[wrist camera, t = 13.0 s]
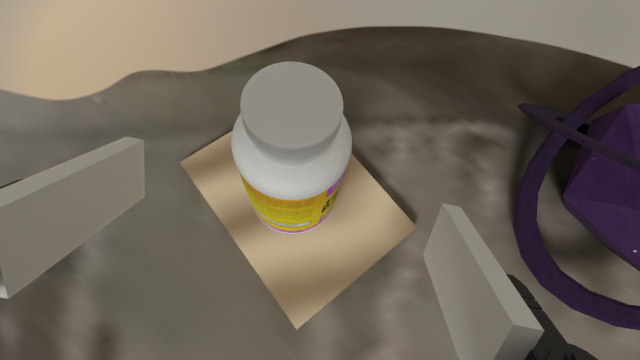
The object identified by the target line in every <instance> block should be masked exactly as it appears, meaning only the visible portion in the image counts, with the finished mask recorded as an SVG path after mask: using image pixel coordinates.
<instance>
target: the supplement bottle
mask: <svg viewBox="0 0 640 360" xmlns="http://www.w3.org/2000/svg"><path fill="white" fill-rule="evenodd" d="M240 109H241V113H240V115H239V116H238V118H237V120H236V122H235V125H234V128H233V132H232V139H231V147H232V154H233V157H234V161H235V163H236V166H237V169H238V171H239V173H240V176H241V178H242V181H243V184H244V186H245V189H246V191H247V194H248V196H249V199H250V202H251V204H252V207H253V209H254V211H255V213H256V215H257V216H258V217H259V219H260V220H261V221H262V222H263V223H264V224H265V225H267V226H268V227H270V228H271V229H273V230H275V231H278V232H281V233H286V234H299V233H304V232H307V231H310V230H312V229H314V228H316V227H317V226H319V225H320V224H321V223H322V222H323V221H324V220H325V219H326V218H327V216H328V215H329V213H330V211H331V209H332V207H333V205H334V202H335V199H336V196H337V194H338V191H339V188H340V185H341V182H342V179H343V176H344V173H345V170H346V168H347V165H348V162H349V159H350V156H351V150H352V136H351V131H350V128H349V125H348V122H347V120H346V118H345V117H344V115H343V99H342V95H341V92H340V90H339V88H338V86H337V84H336V83H335V82H334V80H333V79H332V78H331V77H330V76H329V75H327V74H326V73H325V72H323V71H322V70H320V69H319V68H317V67H315V66H312V65H309V64H305V63H301V62H281V63H276V64H272V65H270V66H267V67H265V68H263V69H261V70H260V71H258V72H257V73H256V74H255V75H253V76H252V77H251V79H250V80H249V81H248V82H247V84H246V86H245V88H244V90H243V92H242V95H241V101H240Z"/></svg>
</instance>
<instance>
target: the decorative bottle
mask: <svg viewBox="0 0 640 360" xmlns="http://www.w3.org/2000/svg"><path fill="white" fill-rule="evenodd" d="M639 83H640V66H638V67H636V68H634V69H632V70H630V71H628V72H626V73H624V74H622V75H620V76H619V77H618V78H616V79H615V80H613V81H612V82H610V83H609V84H607V85H606V86H604V87H603V88H601V89H600V90H598V91H597V92H595V93H594V94H592V95H591V96H589V97H588V98H587V99H585V100H584V101H582V102H581V103H580V104H579V105H578V106H577V107H576V108H575V109H574V110H573V111H572V112H571V113H570V114H566V113H563V112H560V111H556V110H553V109H549V108H545V107H541V106H537V105H532V104H525V103H523V104H519V105H518V108H519V109H520V110H521V111H522V112H523V113H525V114H526V115H527V116H528V117H530V118H532V119H533V120H535V121H537V122H538V123H540V124H542V125H544V126H545V127H547V128H549V129H550V130H552V131H551V132H550V134H549V135H548V136H547V138H546V139H545V141H544V142H543V143H542V145H541V146H540V148H539V149H538V150H537V152H536V153H535V155H534V156H533V157H532V159H531V160H530V162H529V164H528V166H527V169H526V171H525V174H524V176H523V179H522V181H521V184H520V186H519V189H518V191H517V194H516V203H515V214H514V225H513V227H514V231H515V235H516V239H517V242H518V246H519V250H520V254H521V257H522V259H523V260H524V262H525V263H526V265H527V266H528V268H529V269H530V270H531V272H532V273H533V275H534V276H535V278H536V279H537V281H538V282H539V283H540V285H541V286H543V287H544V288H545V289H546V290H548V291H549V292H550V293H552V294H553V295H554V296H556V297H557V298H558V299H560V300H561V301H562V302H564V303H565V304H566V305H568V306H569V307H570V308H572V309H574V310H576V311H579V312H581V313H584V314H586V315H589V316H591V317H594V318H596V319H599V320H601V321H604V322H606V323H609V324H611V325H614V326H617V327H623V328H630V329H636V330H640V306H635V305H628V304H625V303H622V302H619V301H617V300H614V299H611V298H608V297H606V296H603V295H600V294H597V293H595V292H592V291H589V290H588V289H587V288H585V287H584V286H582V285H581V284H580V283H578V282H577V281H575V280H574V279H572V278H571V277H570V276H568V275H567V274H565V273H564V272H563V271H561V269H560V268H559V267H558V265H557V264H556V263H555V261H554V260H553V259H552V257H551V256H550V255H549V253H548V252H547V250H546V249H545V248H544V246H543V242H542V239H541V235H540V232H539V228H538V225H537V221H536V217H537V203H538V192H539V189H540V187H541V184H542V182H543V179H544V177H545V174H546V172H547V169H548V167H549V164H550V163H551V161H552V160H553V158H554V157H555V156H556V154H557V153H558V151H559V150H560V149H561V147H562V146H563V144H564V143H565V142H566V140H567V139H570V140H572V141H574V142H576V143H578V144H580V145H582V147H581V149H580V152H579V155H578V157H577V160H576V162H575V165H574V168H573V170H572V173H571V175H570V178H569V181H568V183H567V186H566V188H565V191H564V193H563V199H564V205H565V208H566V209H567V210H568V211H569V212H570V213H571V214H572V215H573V216H574V217H575V218H576V219H578V220H579V221H580V222H581V223H582V224H583V225H584V226H585V227H586V228H587V229H588V230H589V231H590V232H591V233H592V234H593V235H594V236H595V237H596V238H598V239H599V240H600V241H601V242H602V243H603V244H604V245H605V246H606V247H607V248H608V249H609V250H611V251H612V252H613V253H615V254H616V255H618V256H619V257H620V258H622V259H623V260H625V261H626V262H628V263H629V264H630V265H632V266H633V267H635V268H636V269H637V270H639V271H640V104H629V105H624V106H622V107H620V108H618V109H616V110H614V111H611V112H609V113H607V114H605V115H603V116H600V117H598V118H596V119H594V120H592V121H588V120H587V119H588V118H589V117H590V116H591V115H593V114H594V113H595V112H596V111H597V110H598V109H600V108H601V107H603V106H604V105H606V104H607V103H609V102H610V101H612V100H613V99H615V98H616V97H618V96H619V95H621V94H622V93H624V92H625V91H627V90H628V89H630V88H631V87H633V86H635V85H637V84H639ZM555 118H557V119H562V121H561V122H560V121H558V120H557V119H555ZM581 125H584V126H587V127H589V129H588V131H587V134H586V135H584V134H582V133H580V132H578V131H576V129H578V128H579V127H580V126H581Z"/></svg>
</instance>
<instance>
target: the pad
mask: <svg viewBox="0 0 640 360" xmlns="http://www.w3.org/2000/svg"><path fill="white" fill-rule="evenodd" d="M232 132H233V131H231V132H229V133H228V134H226V135H224V136H223V137H221V138H219V139H218V140H216V141H214V142H213V143H211V144H210V145H208V146H206V147H205V148H203V149H201V150H200V151H198V152H196V153H195V154H193V155H191V156H190V157H188V158H186V159H185V160H183V161H181V162H180V163H181V165H182V166H183V168H184V169H185V171H186V172H187V173H188V175H189V176H190V178H191V179H192V181H193V182H194V183H195V185H196V186H197V188H198V189H199V191H200V192H201V193H202V195H203V196H204V198H205V199H206V201H207V202H208V203H209V205H210V206H211V208H212V209H213V211H214V212H215V213H216V215H217V216H218V218H219V219H220V221H221V222H222V224H223V225H224V226H225V228H226V229H227V231H228V232H229V234H230V235H231V236H232V238H233V239H234V241H235V242H236V244H237V245H238V246H239V248H240V249H241V251H242V252H243V254H244V255H245V256H246V258H247V259H248V261H249V262H250V264H251V265H252V266H253V268H254V269H255V271H256V272H257V274H258V275H259V276H260V278H261V279H262V281H263V282H264V284H265V285H266V286H267V288H268V289H269V291H270V292H271V294H272V295H273V296H274V298H275V299H276V301H277V302H278V304H279V305H280V306H281V308H282V309H283V311H284V312H285V314H286V315H287V316H288V318H289V319H290V321H291V322H292V324H293V325H294V327H295V328H296V329H298V328H299V327H300V326H302V325H303V324H304V323H305V322H306V321H307V320H309V319H310V318H311V317H312V316H313V315H315V314H316V313H317V312H318V311H319V310H320V309H322V308H323V307H324V306H325V305H326V304H327V303H329V302H330V301H331V300H332V299H333V298H335V297H336V296H337V295H338V294H339V293H340V292H342V291H343V290H344V289H345V288H346V287H348V286H349V285H350V284H351V283H352V282H353V281H355V280H356V279H357V278H358V277H359V276H360V275H362V274H363V273H364V272H365V271H366V270H368V269H369V268H370V267H371V266H372V265H373V264H375V263H376V262H377V261H378V260H379V259H380V258H382V257H383V256H384V255H385V254H386V253H388V252H389V251H390V250H391V249H392V248H393V247H395V246H396V245H397V244H398V243H399V242H400V241H402V240H403V239H404V238H405V237H406V236H408V235H409V234H410V233H411V232H412V231H413V230H415V229H416V228H417V227H416V226H415V224H414V223H413V222H412V221H411V220H410V219H409V218H408V217H407V215H406V214H405V213H404V212H403V211H402V210H401V209H400V207H399V206H398V205H397V204H396V203H395V202H394V201H393V200H392V198H391V197H390V196H389V195H388V194H387V193H386V192H385V191H384V189H383V188H382V187H381V186H380V185H379V184H378V183H377V182H376V180H375V179H374V178H373V177H372V176H371V175H370V174H369V172H368V171H367V170H366V169H365V168H364V167H363V166H362V165H361V163H360V162H359V161H358V160H357V159H356V158H355V157H354V156H353V154H352V153H351V156H350V159H349V162H348V165H347V168H346V170H345V173H344V176H343V179H342V182H341V185H340V188H339V191H338V194H337V196H336V199H335V202H334V205H333V207H332V209H331V211H330V213H329V215H328V216H327V218H326V219H325V220H324V221H323V222H322V223H321V224H320V225H319V226H317V227H316V228H314V229H312V230H310V231H307V232H304V233H299V234H286V233H281V232H278V231H275V230H273V229H271V228H270V227H268V226H267V225H265V224H264V223H263V222H262V221H261V220H260V219H259V217H258V216H257V215H256V213H255V211H254V209H253V207H252V204H251V202H250V199H249V196H248V194H247V191H246V189H245V186H244V184H243V181H242V178H241V176H240V173H239V171H238V169H237V166H236V163H235V161H234V157H233V154H232V147H231V139H232Z"/></svg>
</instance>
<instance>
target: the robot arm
mask: <svg viewBox="0 0 640 360" xmlns="http://www.w3.org/2000/svg"><path fill="white" fill-rule="evenodd" d="M144 197H145V176H144V140H140V139H136V138H131V137H124V138H122V139H119V140H117V141H115V142H112V143H110V144H107V145H105V146H103V147H100V148H98V149H95V150H93V151H90V152H88V153H86V154H83V155H81V156H78V157H76V158H74V159H71V160H69V161H66V162H64V163H62V164H59V165H57V166H54V167H52V168H50V169H47V170H45V171H42V172H40V173H38V174H35V175H33V176H30V177H28V178H25V179H20V180H16V181H14V182H11V183H9V184H7V185H4V186H2V187H1V188H0V297H1V298H6V299H9V298H10V297H12V296H13V295H14V294H16V293H17V292H18V291H20V290H21V289H22V288H24V287H25V286H26V285H28V284H29V283H30V282H32V281H33V280H34V279H36V278H37V277H38V276H40V275H41V274H42V273H44V272H45V271H46V270H48V269H49V268H50V267H52V266H53V265H54V264H56V263H57V262H58V261H60V260H61V259H62V258H64V257H65V256H66V255H68V254H69V253H70V252H72V251H73V250H74V249H76V248H77V247H78V246H80V245H81V244H82V243H84V242H85V241H86V240H88V239H89V238H90V237H92V236H93V235H94V234H96V233H97V232H98V231H100V230H101V229H102V228H104V227H105V226H106V225H108V224H109V223H111V222H112V221H113V220H115V219H116V218H117V217H119V216H120V215H121V214H123V213H124V212H125V211H127V210H128V209H129V208H131V207H132V206H133V205H135V204H136V203H137V202H139V201H140V200H141V199H143V198H144ZM423 257H424V260H425V263H426V266H427V269H428V272H429V275H430V277H431V280H432V283H433V286H434V289H435V292H436V295H437V298H438V301H439V304H440V306H441V309H442V312H443V315H444V318H445V321H446V324H447V327H448V330H449V332H450V335H451V338H452V341H453V344H454V347H455V350H456V353H457V356H458V358H459V360H598V359H596V358H595V357H594V356H592V355H591V354H589V353H588V352H587V351H585V350H583V349H581V348H579V347H577V346H575V345H572V344H568V343H567V342H566V341H565V339H564V338H563V337H562V335H561V334H560V332H559V331H558V330H557V328H556V327H555V326H554V324H553V323H552V321H551V320H550V319H549V317H548V316H547V315H546V313H545V312H544V311H542V308H541V306H540V305H539V304H538V302H537V301H535V298H534V297H533V295H532V294H531V293H530V291H529V290H528V288H527V287H526V286H525V285H524V284H522V283H521V282H520V281H519V280H518V279H517V278H515V277H514V276H513V275H509V274H505V272H504V271H503V269H502V268H501V266H500V265H499V263H498V262H497V260H496V259H495V257H494V256H493V254H492V253H491V251H490V250H489V248H488V247H487V246H486V244H485V243H484V241H483V240H482V238H481V237H480V235H479V234H478V232H477V231H476V229H475V228H474V226H473V225H472V223H471V222H470V220H469V219H468V217H467V216H466V215H465V213H464V212H463V210H462V209H461V207H459V206H454V205H449V204H444V203H443V204H442V207H441V209H440V212H439V214H438V217H437V220H436V222H435V225H434V228H433V230H432V233H431V235H430V238H429V241H428V243H427V246H426V249H425V251H424V254H423Z"/></svg>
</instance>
